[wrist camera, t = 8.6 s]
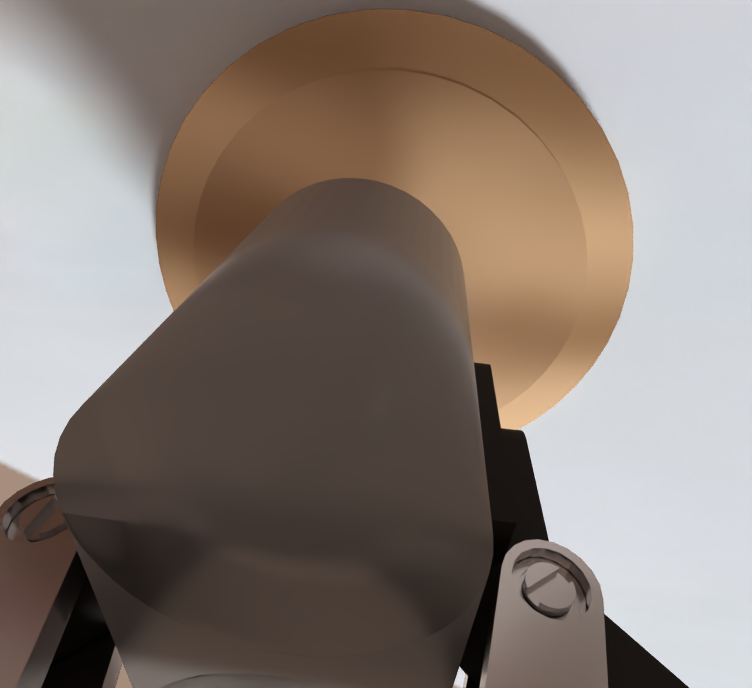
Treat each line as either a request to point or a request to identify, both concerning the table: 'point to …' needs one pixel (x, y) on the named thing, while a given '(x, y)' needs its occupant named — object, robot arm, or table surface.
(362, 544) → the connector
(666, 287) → the table surface
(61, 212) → the table surface
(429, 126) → the coaster
